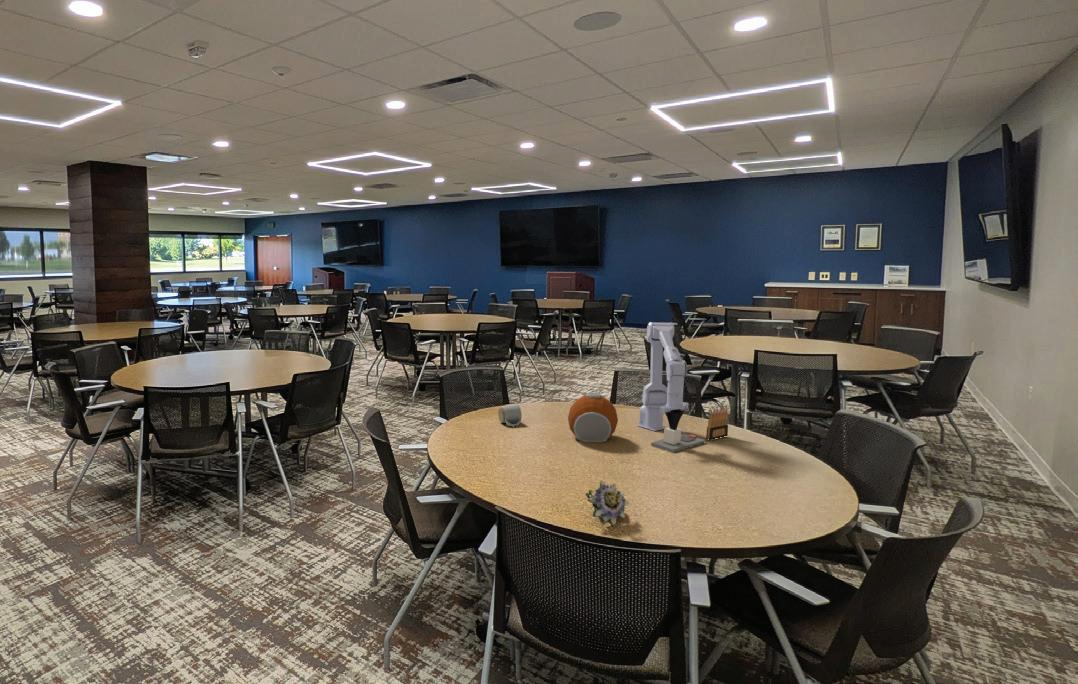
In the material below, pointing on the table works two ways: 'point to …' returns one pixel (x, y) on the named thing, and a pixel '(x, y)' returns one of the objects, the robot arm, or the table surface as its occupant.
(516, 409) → the ceramic mug
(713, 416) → the ammunition clip
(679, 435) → the plug
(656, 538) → the table surface
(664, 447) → the socket strip
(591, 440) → the alarm clock
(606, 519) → the passion flower
